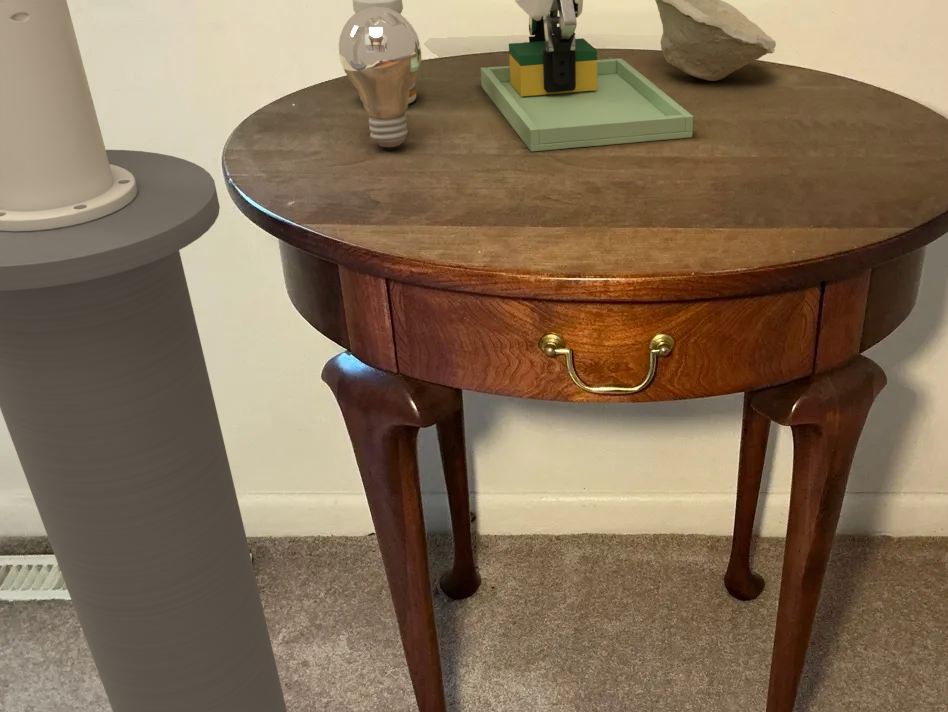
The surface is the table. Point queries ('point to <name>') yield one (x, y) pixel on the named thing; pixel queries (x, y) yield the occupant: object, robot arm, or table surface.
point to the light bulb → (381, 69)
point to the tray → (590, 110)
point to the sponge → (530, 67)
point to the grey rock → (709, 37)
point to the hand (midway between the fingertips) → (552, 81)
